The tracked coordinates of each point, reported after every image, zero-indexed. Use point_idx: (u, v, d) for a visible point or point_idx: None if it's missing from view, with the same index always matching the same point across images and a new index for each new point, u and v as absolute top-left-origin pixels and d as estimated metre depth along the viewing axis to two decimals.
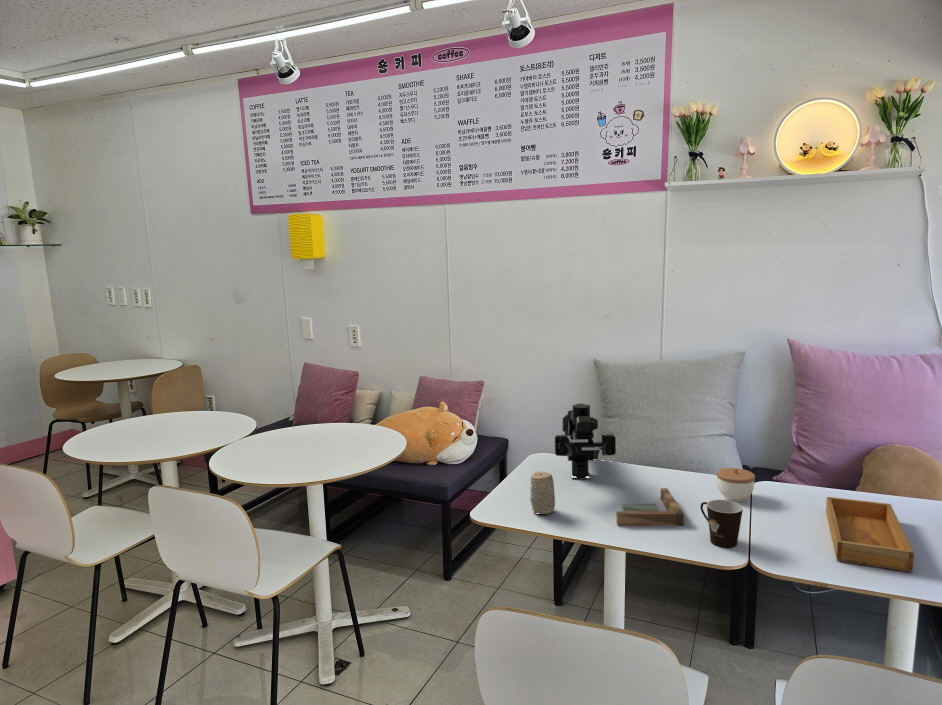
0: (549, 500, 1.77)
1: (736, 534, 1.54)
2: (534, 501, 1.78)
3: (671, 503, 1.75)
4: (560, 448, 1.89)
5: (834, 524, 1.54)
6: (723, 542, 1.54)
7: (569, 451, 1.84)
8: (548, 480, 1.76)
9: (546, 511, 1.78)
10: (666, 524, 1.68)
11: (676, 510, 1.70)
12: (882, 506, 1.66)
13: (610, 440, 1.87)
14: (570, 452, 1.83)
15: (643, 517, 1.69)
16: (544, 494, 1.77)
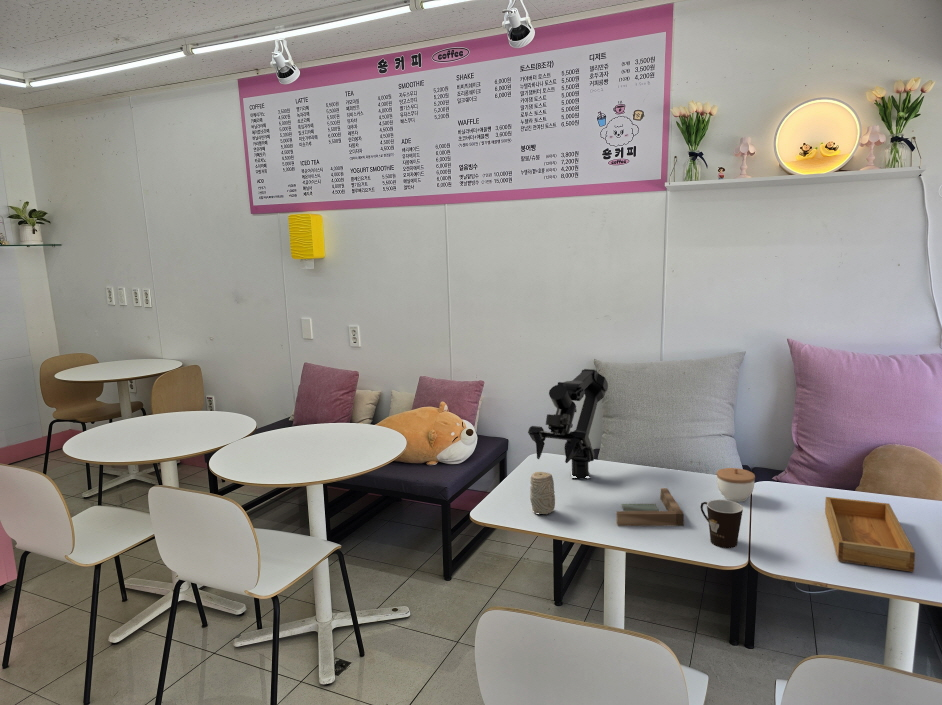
0: (549, 500, 1.77)
1: (736, 534, 1.54)
2: (534, 501, 1.78)
3: (671, 503, 1.75)
4: (534, 440, 1.92)
5: (834, 524, 1.54)
6: (723, 542, 1.54)
7: None
8: (548, 480, 1.76)
9: (546, 511, 1.78)
10: (666, 524, 1.68)
11: (676, 510, 1.70)
12: (881, 506, 1.66)
13: (579, 441, 1.83)
14: None
15: (643, 517, 1.69)
16: (544, 494, 1.77)
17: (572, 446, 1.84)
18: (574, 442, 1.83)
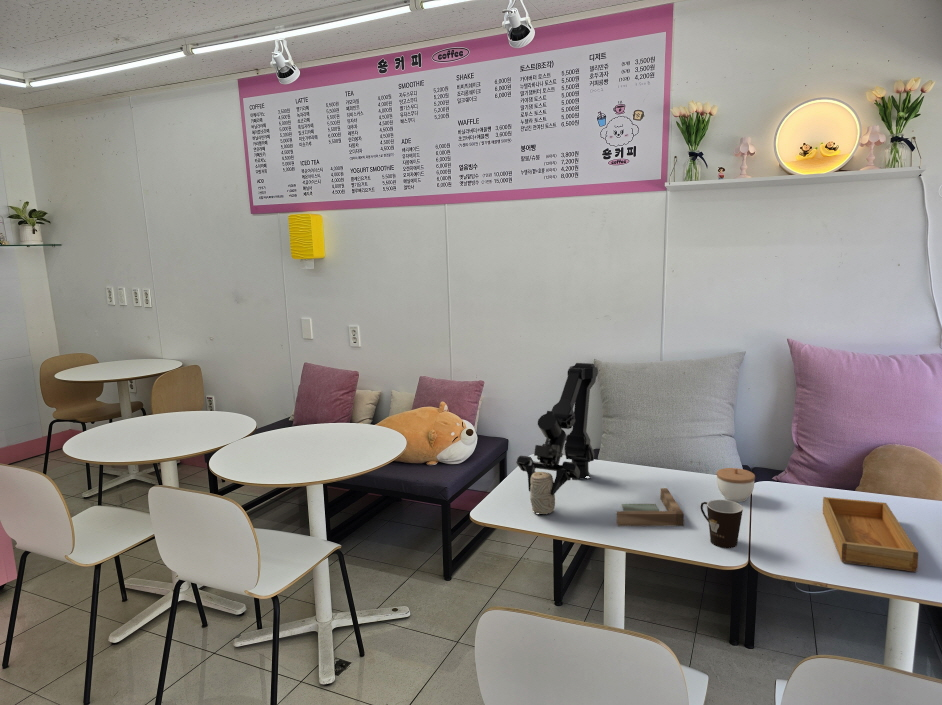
0: (549, 500, 1.77)
1: (736, 534, 1.54)
2: (534, 501, 1.78)
3: (671, 503, 1.75)
4: (526, 470, 1.85)
5: (836, 525, 1.54)
6: (723, 542, 1.54)
7: None
8: (548, 480, 1.76)
9: (546, 511, 1.78)
10: (666, 524, 1.68)
11: (676, 510, 1.70)
12: (878, 505, 1.66)
13: (565, 473, 1.77)
14: None
15: (643, 517, 1.69)
16: (544, 494, 1.77)
17: (558, 478, 1.77)
18: (560, 474, 1.77)
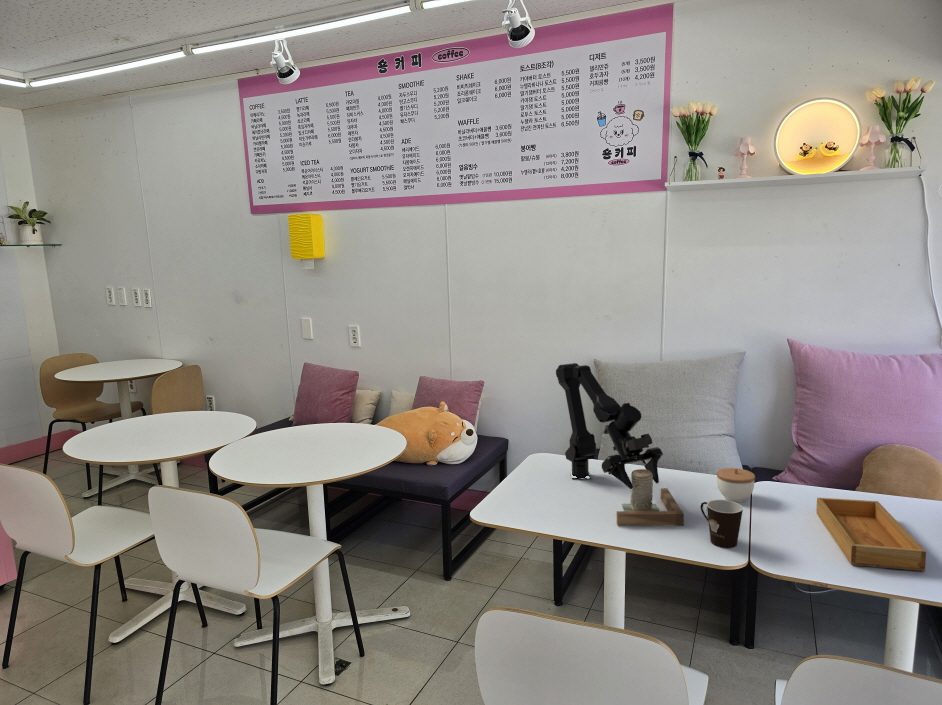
0: None
1: (736, 534, 1.54)
2: (645, 500, 1.74)
3: (671, 503, 1.75)
4: (612, 470, 1.77)
5: (839, 527, 1.53)
6: (723, 542, 1.54)
7: (627, 483, 1.75)
8: None
9: (651, 506, 1.77)
10: (666, 524, 1.68)
11: (676, 510, 1.70)
12: (871, 504, 1.67)
13: (659, 458, 1.80)
14: (628, 485, 1.74)
15: (643, 517, 1.69)
16: (651, 489, 1.76)
17: (655, 465, 1.79)
18: (656, 460, 1.79)
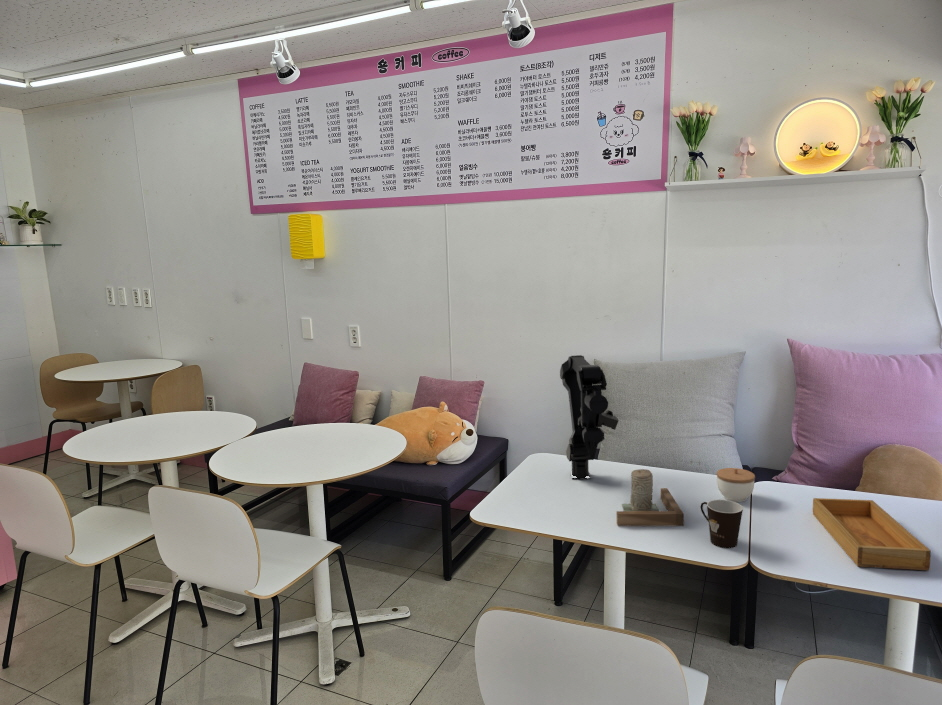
0: None
1: (736, 534, 1.54)
2: (645, 500, 1.74)
3: (671, 503, 1.75)
4: None
5: (841, 528, 1.52)
6: (723, 542, 1.54)
7: (593, 453, 1.86)
8: None
9: (651, 506, 1.77)
10: (666, 524, 1.68)
11: (676, 510, 1.70)
12: (866, 503, 1.68)
13: None
14: (592, 455, 1.87)
15: (643, 517, 1.69)
16: (651, 489, 1.76)
17: None
18: None
